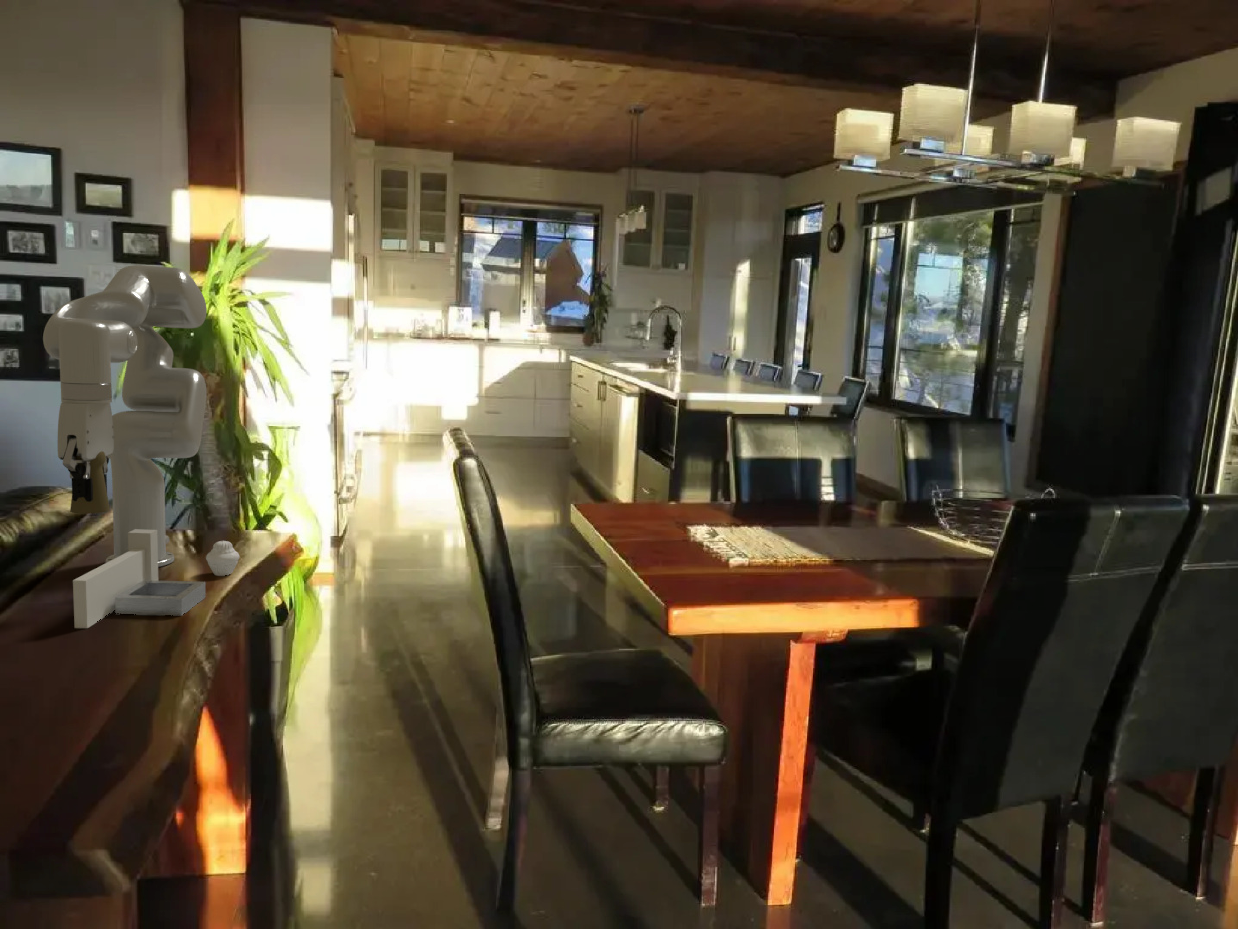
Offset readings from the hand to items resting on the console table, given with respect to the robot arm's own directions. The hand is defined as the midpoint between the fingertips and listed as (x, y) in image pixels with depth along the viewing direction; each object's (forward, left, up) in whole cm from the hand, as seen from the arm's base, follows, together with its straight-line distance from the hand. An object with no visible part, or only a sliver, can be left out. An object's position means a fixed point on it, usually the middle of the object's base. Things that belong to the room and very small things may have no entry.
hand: (90, 497), depth 157 cm
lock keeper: (0, +12, -19) cm, 22 cm away
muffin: (-22, +15, -19) cm, 33 cm away
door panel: (+1, +4, -19) cm, 20 cm away
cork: (0, 0, -2) cm, 2 cm away
